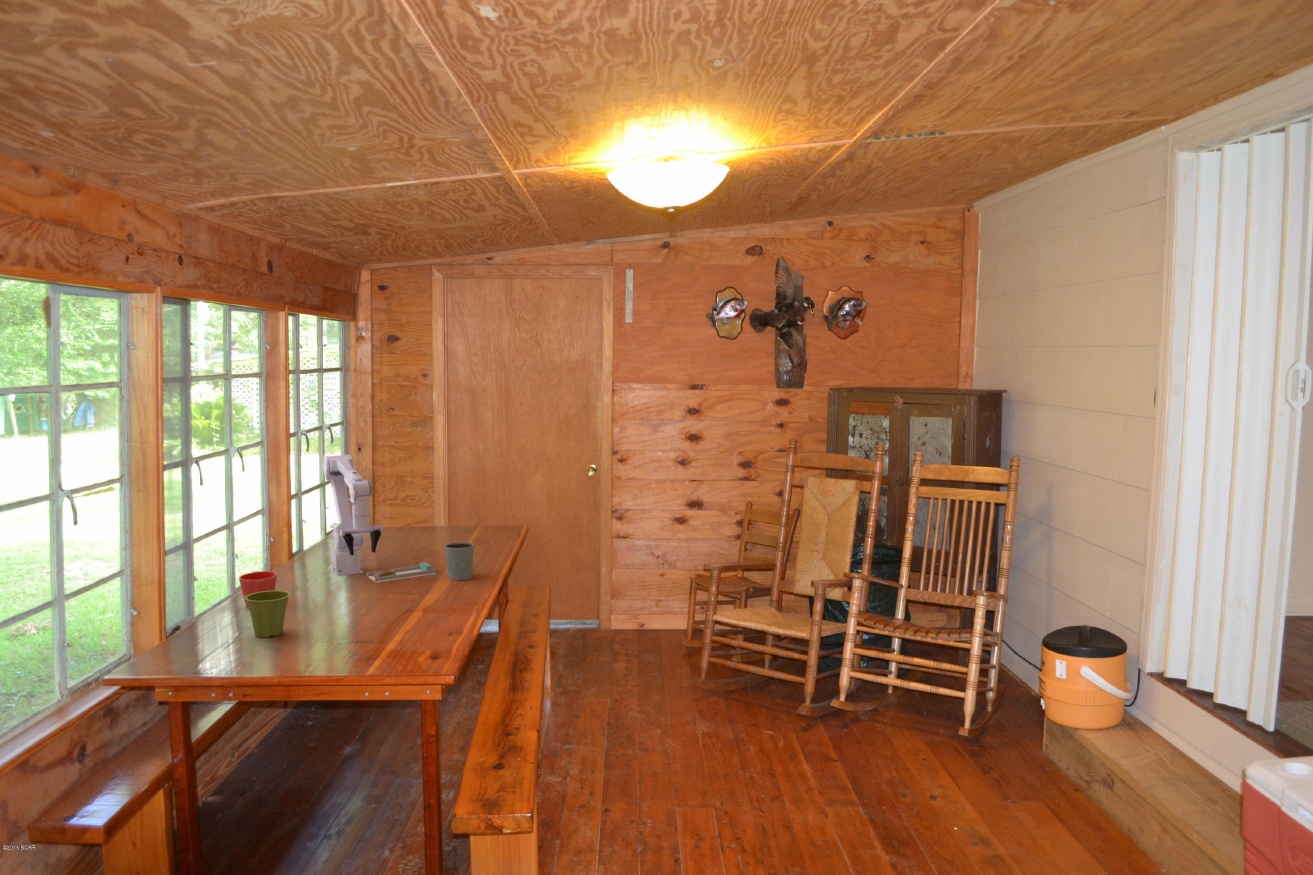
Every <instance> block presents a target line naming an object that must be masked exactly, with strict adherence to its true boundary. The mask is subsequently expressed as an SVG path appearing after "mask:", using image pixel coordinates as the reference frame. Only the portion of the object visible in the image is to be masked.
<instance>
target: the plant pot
mask: <svg viewBox="0 0 1313 875" xmlns="http://www.w3.org/2000/svg"><path fill="white" fill-rule="evenodd" d="M290 596H291V592H288V591H287V590H276V589H275V591H262V592H257V593H252V594H250V595H247V596H246V597H245V600H247V603H248V607H249V608H248V610H249V612H250V617H251V623H252V628H253V631H254V632H253V633H254V635H255V637H258V638H271V637H272V636H274V637H277V636H279V635H281V634H283V631H284V625H285V617H286V610H287V604H288V603H289V602H288V601H289V597H290ZM245 600H244V601H245Z"/></svg>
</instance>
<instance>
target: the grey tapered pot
mask: <svg viewBox="0 0 1313 875" xmlns="http://www.w3.org/2000/svg"><path fill="white" fill-rule="evenodd" d="M474 547H475V545H474V543H472V542H461V541H460V542H452V543H447V544H445V546H444V550H445V551H444V552H445V558H446V566H447V577H448V579H450V580H455V581H458V582H463V581H462V580H465V581H469V580H472V579H473V577H474V550H475V549H474ZM471 578H472V579H471Z"/></svg>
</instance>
